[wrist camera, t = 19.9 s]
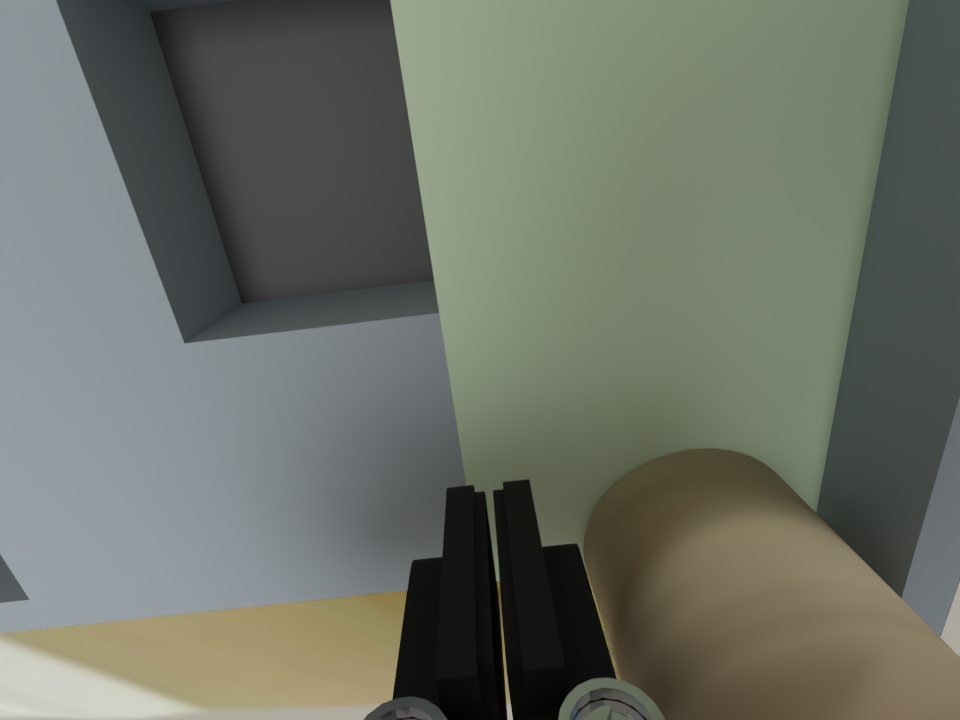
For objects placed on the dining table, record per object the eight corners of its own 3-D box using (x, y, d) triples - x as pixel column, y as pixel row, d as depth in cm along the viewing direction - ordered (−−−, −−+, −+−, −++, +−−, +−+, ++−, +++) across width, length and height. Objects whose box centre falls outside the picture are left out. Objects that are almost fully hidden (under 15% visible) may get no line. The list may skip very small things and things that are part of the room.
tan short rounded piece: (585, 457, 11) (665, 645, 7) (812, 440, 11) (1027, 614, 7) (581, 624, 13) (641, 849, 9) (775, 608, 13) (926, 824, 9)
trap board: (-768, 82, 10) (-1949, 23, 5) (867, -148, 9) (1326, -484, 4) (-282, 586, 16) (-634, 793, 11) (780, 470, 15) (940, 636, 10)
